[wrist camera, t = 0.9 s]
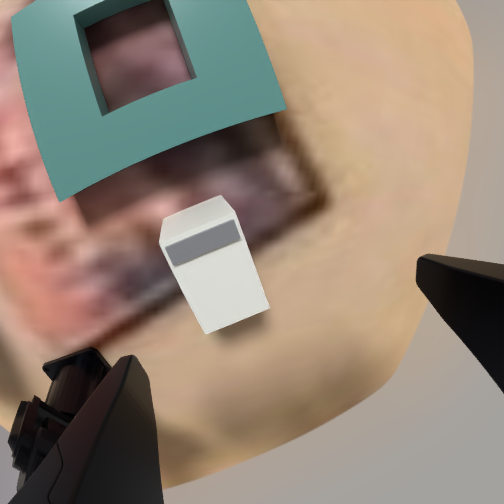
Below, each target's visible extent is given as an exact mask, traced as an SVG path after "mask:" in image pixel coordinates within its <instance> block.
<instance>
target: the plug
mask: <svg viewBox="0 0 504 504" xmlns="http://www.w3.org/2000/svg"><path fill="white" fill-rule="evenodd" d="M159 244H160V246H161V249H162V251H163V253H164V255H165V257H166V259H167V261H168V263H169V265H170V267H171V269H172V271H173V273H174V275H175V277H176V279H177V281H178V283H179V285H180V287H181V289H182V291H183V293H184V295H185V297H186V299H187V301H188V303H189V305H190V307H191V309H192V311H193V312H194V314H195V316H196V318H197V320H198V322H199V324H200V325H201V327H202V329H203V331H204V333H205V334H208V333H211V332H213V331H216V330H218V329H221V328H223V327H226V326H228V325H231V324H233V323H236V322H238V321H241V320H243V319H245V318H248V317H250V316H253V315H255V314H257V313H260V312H262V311H264V310H267V309H269V308H270V307H269V304H268V301H267V298H266V296H265V293H264V290H263V287H262V285H261V282H260V279H259V276H258V274H257V271H256V268H255V265H254V263H253V260H252V257H251V254H250V252H249V249H248V246H247V243H246V241H245V238H244V235H243V232H242V229H241V227H240V224H239V221H238V218H237V216H236V213H235V211H234V210H233V209H232V208H231V206H230V205H229V204H228V203H227V202H226V200H225V199H224V198H223V197H222V196H221V195H219V196H217V197H214V198H212V199H209V200H207V201H204V202H202V203H199V204H197V205H194V206H192V207H189V208H187V209H185V210H182V211H180V212H177V213H175V214H173V215H170V216H168V217H166V218H163V223H162V228H161V234H160V240H159Z"/></svg>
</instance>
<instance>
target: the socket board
mask: <svg viewBox="0 0 504 504" xmlns="http://www.w3.org/2000/svg"><path fill="white" fill-rule="evenodd" d="M148 1H151V0H36V1H35V2H33V3H31V4H30V5H28V6H27V7H25V8H24V9H22V10H21V11H19V12H18V13H17V14H15V15H14V16H12V17H11V22H12V32H13V40H14V48H15V54H16V60H17V66H18V72H19V77H20V82H21V86H22V91H23V95H24V99H25V103H26V107H27V111H28V115H29V118H30V122H31V125H32V129H33V132H34V135H35V138H36V141H37V144H38V148H39V150H40V153H41V156H42V159H43V162H44V165H45V167H46V170H47V173H48V175H49V178H50V181H51V183H52V186H53V188H54V191H55V193H56V195H57V198H58V200H59V203H60V202H61V201H63V200H65V199H67V198H69V197H70V196H72V195H74V194H76V193H78V192H79V191H81V190H83V189H85V188H87V187H89V186H91V185H93V184H95V183H96V182H98V181H100V180H102V179H104V178H106V177H108V176H110V175H112V174H114V173H116V172H118V171H121V170H123V169H125V168H127V167H129V166H131V165H133V164H135V163H138V162H140V161H142V160H144V159H147V158H149V157H151V156H153V155H156V154H158V153H161V152H163V151H165V150H168V149H170V148H173V147H175V146H178V145H180V144H183V143H185V142H188V141H190V140H193V139H196V138H198V137H201V136H204V135H207V134H209V133H212V132H215V131H218V130H221V129H224V128H227V127H230V126H233V125H236V124H239V123H242V122H245V121H248V120H252V119H255V118H258V117H262V116H265V115H268V114H272V113H275V112H279V111H282V110H286V109H287V108H286V104H285V101H284V98H283V95H282V93H281V90H280V87H279V84H278V81H277V78H276V75H275V72H274V70H273V67H272V64H271V61H270V59H269V56H268V53H267V51H266V48H265V45H264V43H263V40H262V38H261V35H260V32H259V30H258V27H257V25H256V22H255V20H254V18H253V15H252V13H251V10H250V8H249V6H248V3H247V1H246V0H164V3H165V6H166V9H167V12H168V14H169V17H170V20H171V23H172V25H173V28H174V31H175V34H176V37H177V39H178V42H179V45H180V48H181V51H182V53H183V56H184V59H185V62H186V64H187V67H188V70H189V73H190V76H191V78H192V80H189V81H186V82H183V83H180V84H177V85H175V86H172V87H169V88H166V89H164V90H161V91H159V92H156V93H154V94H151V95H149V96H146V97H144V98H142V99H139V100H137V101H135V102H132V103H130V104H128V105H126V106H123V107H121V108H119V109H117V110H115V111H113V112H111V113H109V111H108V108H107V105H106V102H105V99H104V96H103V93H102V90H101V86H100V83H99V80H98V77H97V74H96V70H95V67H94V63H93V60H92V56H91V53H90V49H89V46H88V42H87V38H86V34H85V30H84V28H86V27H88V26H90V25H92V24H94V23H96V22H98V21H101V20H103V19H105V18H107V17H110V16H112V15H114V14H117V13H119V12H121V11H124V10H127V9H129V8H132V7H134V6H137V5H140V4H143V3H146V2H148Z"/></svg>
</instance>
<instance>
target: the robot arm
mask: <svg viewBox="0 0 504 504" xmlns="http://www.w3.org/2000/svg"><path fill="white" fill-rule="evenodd" d="M416 283H417V286H418V287H419V288H420V290H421V291H422V292H423V294H424V295H425V296H426V297H427V299H428V300H429V301H430V303H431V304H432V305H433V307H434V308H435V309H436V311H437V312H438V313H439V314H440V316H441V317H442V319H443V320H444V321H445V322H446V323H447V324H448V325H449V327H450V328H451V329H452V330H453V331H454V332H455V333H456V335H457V336H458V337H459V338H460V339H461V340H462V342H463V343H464V344H465V345H466V346H467V347H468V348H469V350H470V351H471V352H472V353H473V355H474V356H475V357H476V358H477V360H478V361H479V362H480V363H481V365H482V366H483V367H484V368H485V369H486V371H487V372H488V373H489V375H490V376H491V377H492V379H493V380H494V381H495V383H496V384H497V385H498V387H499V388H500V389H501V391H502V392H503V393H504V264H497V263H490V262H484V261H477V260H470V259H463V258H456V257H448V256H442V255H435V254H425V255H423V256H421V257H419V258H418V260H417V268H416ZM91 353H93V354H91ZM47 368H48V369H47ZM42 369H43V371H44V372H45V373H46V374H47V376H48V377H49V378H50V379H51V380H52V383H51V386H50V389H49V392H48V395H47V398H46V401H45V402H43V401H41V399H40V398H39V397H37V396H35V395H34V397H33V399H32V401H31V402H30V401H28V402H26V401H21V403H20V405H19V408H18V411H17V414H16V416H15V419H14V422H13V425H12V429H11V432H10V435H9V439H8V444H9V446H10V448H11V450H12V457H13V464H12V466H13V468H15V469H17V470H19V471H20V474H19V478H18V483H17V494H16V495H15V496H14V497H13V498H12V500H11V501H10V502H9V503H8V504H164V500H163V492H162V484H161V475H160V465H159V454H158V441H157V428H156V420H155V414H154V409H153V402H152V396H151V389H150V382H149V378H148V375H147V373H146V372H145V370H144V369H143V367H142V365H141V364H140V362H139V361H138V359H137V357H136V356H135V355H128V356H123V357H121V358H120V359H119V360H118V361H117V362H116V364H115V365H114V366H113V368H111V367H110V366H109V365H108V364H107V363H106V361H105V360H104V359H103V358H102V356H101V355H100V354H99V352H98V351H97V350H96V349H95V348H92V347H89V348H86V349H83V350H81V351H78V352H75V353H72V354H69V355H67V356H64V357H61V358H58V359H55V360H52V361H49V362H47V363H44V365H43V367H42Z"/></svg>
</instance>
